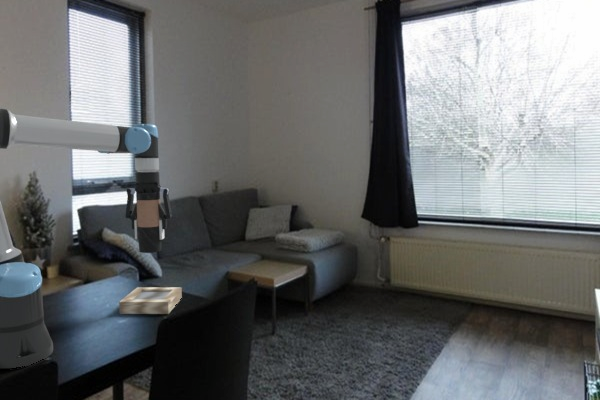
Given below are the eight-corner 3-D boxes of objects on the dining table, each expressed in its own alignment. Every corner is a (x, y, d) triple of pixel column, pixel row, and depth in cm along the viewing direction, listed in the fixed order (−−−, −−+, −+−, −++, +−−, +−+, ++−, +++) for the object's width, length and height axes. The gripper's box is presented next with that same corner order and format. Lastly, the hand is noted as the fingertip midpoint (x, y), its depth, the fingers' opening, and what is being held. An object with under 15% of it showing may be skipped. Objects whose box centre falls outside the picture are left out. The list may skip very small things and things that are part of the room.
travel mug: (154, 253, 145) (152, 193, 143) (133, 252, 147) (131, 192, 145) (166, 248, 153) (164, 191, 151) (146, 247, 154) (144, 190, 152)
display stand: (119, 313, 144) (119, 301, 144) (137, 297, 160) (137, 287, 160) (168, 313, 144) (168, 302, 144) (181, 298, 160) (181, 287, 160)
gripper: (181, 170, 151) (183, 236, 153) (121, 170, 151) (124, 236, 153) (174, 171, 143) (176, 240, 146) (111, 171, 143) (115, 240, 146)
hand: (149, 238), depth 149 cm, fingers closed on travel mug, 8 cm apart
